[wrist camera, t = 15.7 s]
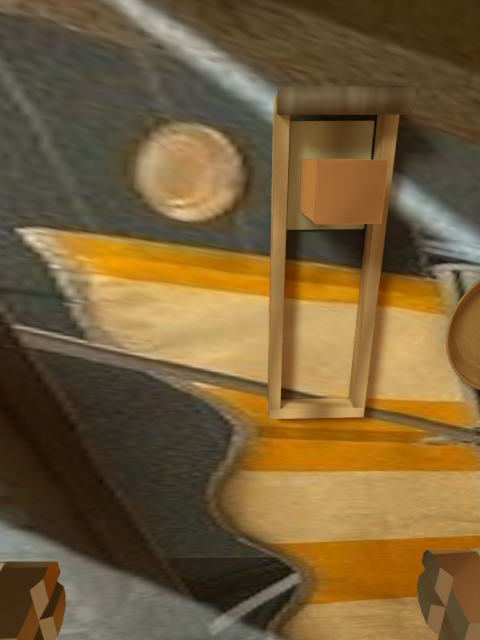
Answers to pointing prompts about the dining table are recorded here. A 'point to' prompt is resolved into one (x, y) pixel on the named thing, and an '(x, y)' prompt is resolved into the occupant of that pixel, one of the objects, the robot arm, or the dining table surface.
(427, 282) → the dining table surface
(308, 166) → the orange brown block
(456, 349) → the plant saucer
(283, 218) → the bay
